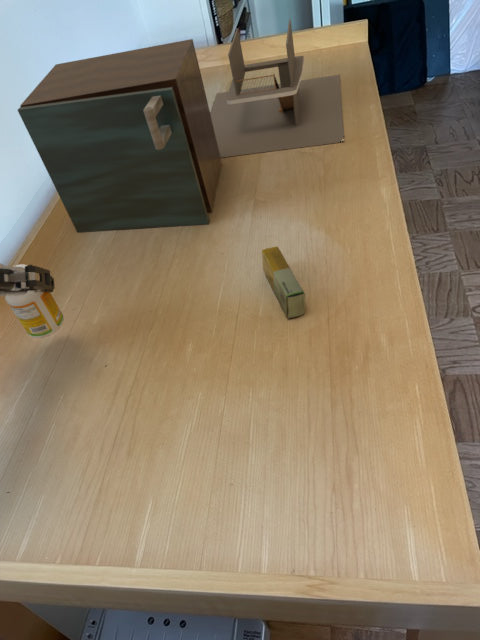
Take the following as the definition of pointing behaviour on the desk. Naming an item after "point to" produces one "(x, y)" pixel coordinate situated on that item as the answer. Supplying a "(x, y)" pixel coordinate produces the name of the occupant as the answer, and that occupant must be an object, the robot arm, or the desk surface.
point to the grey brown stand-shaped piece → (276, 107)
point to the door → (119, 160)
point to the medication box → (283, 282)
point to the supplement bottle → (36, 312)
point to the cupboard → (141, 75)
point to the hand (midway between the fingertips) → (30, 286)
